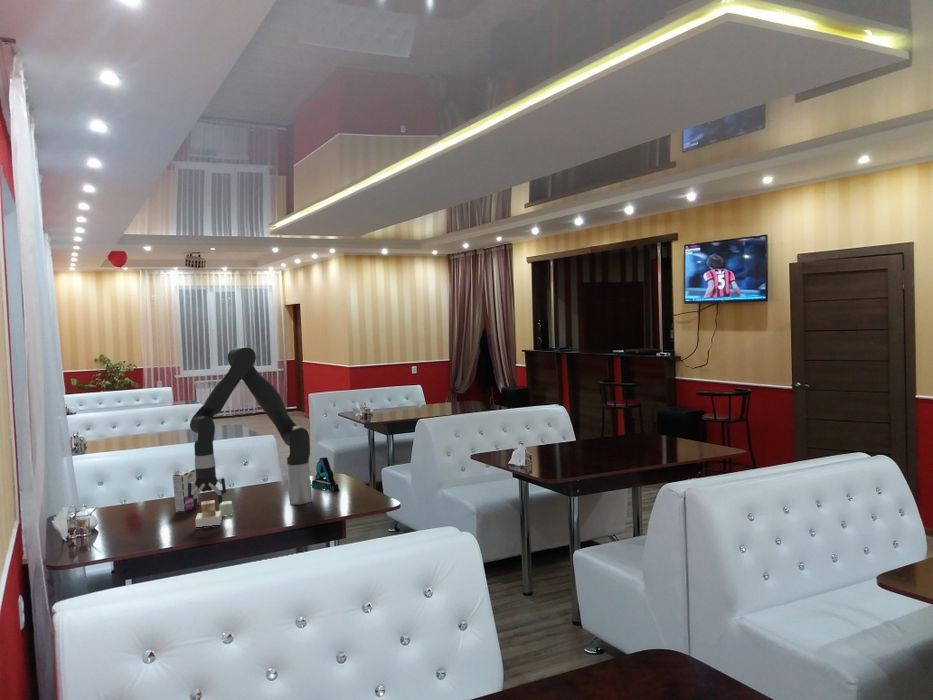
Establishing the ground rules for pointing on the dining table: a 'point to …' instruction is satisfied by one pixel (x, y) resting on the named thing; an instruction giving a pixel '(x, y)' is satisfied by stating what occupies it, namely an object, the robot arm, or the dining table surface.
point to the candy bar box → (184, 490)
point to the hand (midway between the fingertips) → (208, 505)
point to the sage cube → (226, 508)
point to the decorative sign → (325, 476)
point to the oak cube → (208, 508)
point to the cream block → (208, 519)
